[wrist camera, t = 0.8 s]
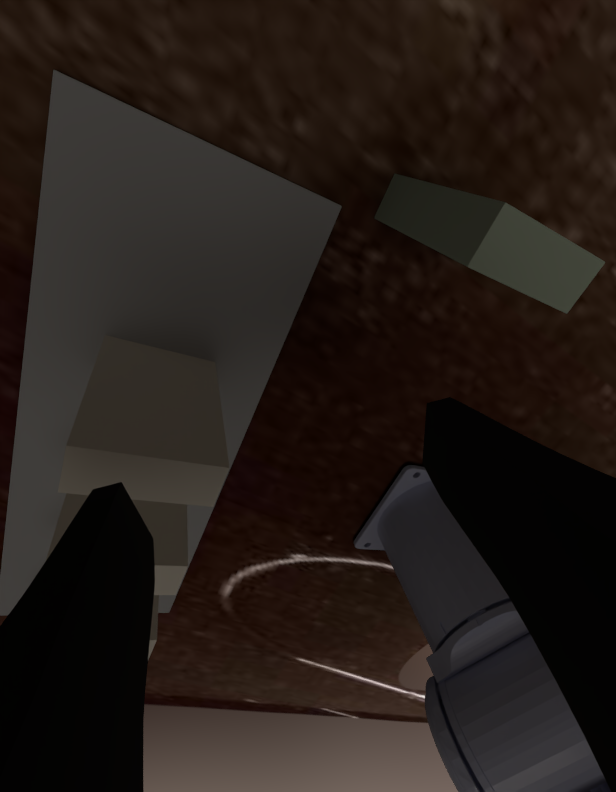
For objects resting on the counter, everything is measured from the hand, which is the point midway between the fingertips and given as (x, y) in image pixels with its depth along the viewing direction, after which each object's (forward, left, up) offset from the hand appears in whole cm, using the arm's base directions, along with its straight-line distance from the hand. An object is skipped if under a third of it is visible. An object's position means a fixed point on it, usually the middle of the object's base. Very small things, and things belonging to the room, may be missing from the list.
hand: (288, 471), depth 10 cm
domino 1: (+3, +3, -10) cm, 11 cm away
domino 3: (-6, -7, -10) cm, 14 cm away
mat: (+3, +8, -10) cm, 14 cm away
